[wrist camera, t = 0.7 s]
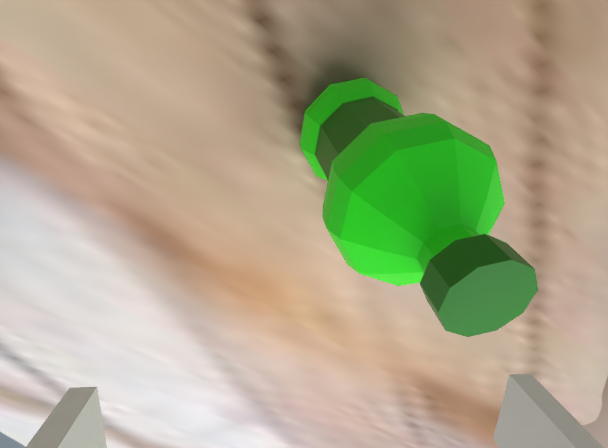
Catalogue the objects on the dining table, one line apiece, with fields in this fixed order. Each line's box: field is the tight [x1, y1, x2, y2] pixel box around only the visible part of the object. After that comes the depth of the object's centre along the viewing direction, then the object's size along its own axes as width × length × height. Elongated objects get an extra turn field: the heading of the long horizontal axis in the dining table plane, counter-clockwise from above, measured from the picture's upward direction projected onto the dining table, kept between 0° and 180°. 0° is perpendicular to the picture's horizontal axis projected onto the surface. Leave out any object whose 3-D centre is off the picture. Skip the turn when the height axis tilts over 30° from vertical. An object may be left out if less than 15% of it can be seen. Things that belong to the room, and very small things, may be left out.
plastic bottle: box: [300, 78, 538, 337], centre depth 25 cm, size 10×11×25 cm
